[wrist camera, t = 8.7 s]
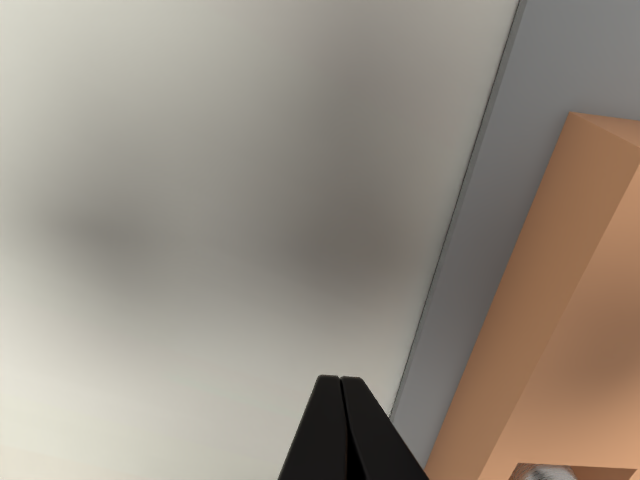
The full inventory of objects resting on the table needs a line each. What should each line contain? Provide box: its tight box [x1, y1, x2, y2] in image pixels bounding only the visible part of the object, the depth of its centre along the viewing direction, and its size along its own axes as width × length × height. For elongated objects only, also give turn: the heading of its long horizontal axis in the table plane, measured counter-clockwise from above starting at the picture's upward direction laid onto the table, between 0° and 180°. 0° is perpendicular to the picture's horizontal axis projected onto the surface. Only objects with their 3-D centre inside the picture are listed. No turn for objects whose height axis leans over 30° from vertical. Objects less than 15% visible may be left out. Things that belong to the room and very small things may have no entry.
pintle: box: [511, 463, 578, 480], centre depth 17 cm, size 2×2×3 cm
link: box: [424, 111, 640, 480], centre depth 15 cm, size 16×6×3 cm, turn 172°
